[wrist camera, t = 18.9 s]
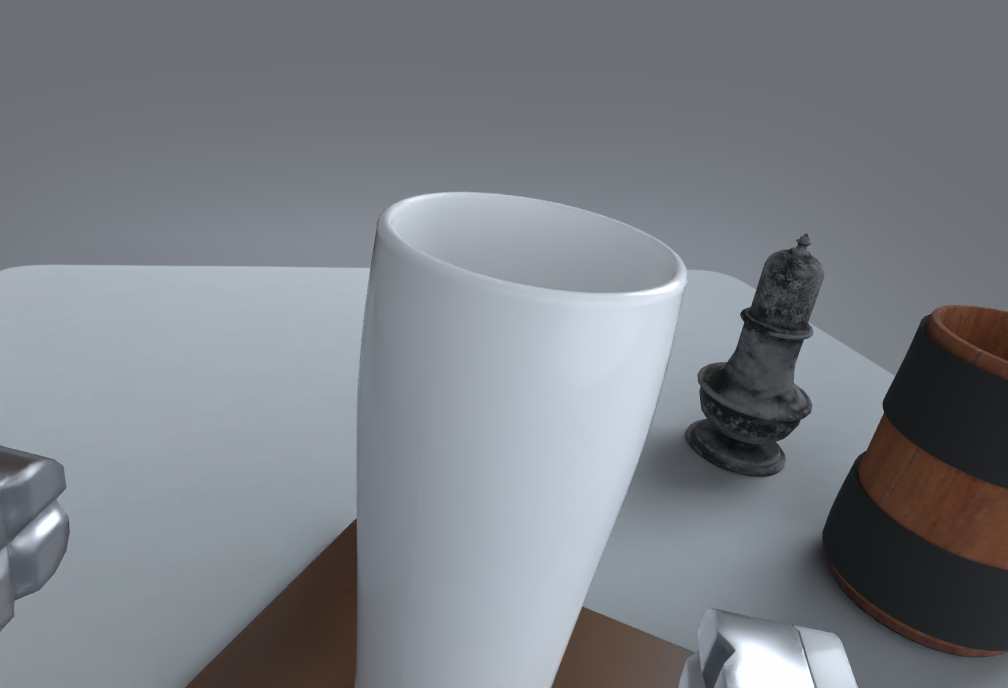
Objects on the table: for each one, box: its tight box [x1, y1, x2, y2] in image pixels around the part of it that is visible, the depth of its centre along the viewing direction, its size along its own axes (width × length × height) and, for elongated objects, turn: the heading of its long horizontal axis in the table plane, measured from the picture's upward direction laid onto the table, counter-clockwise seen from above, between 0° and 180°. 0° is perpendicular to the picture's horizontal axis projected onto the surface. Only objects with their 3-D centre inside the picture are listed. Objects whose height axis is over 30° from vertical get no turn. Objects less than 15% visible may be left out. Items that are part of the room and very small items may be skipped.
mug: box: [822, 305, 1008, 657], centre depth 32 cm, size 9×12×12 cm
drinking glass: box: [354, 192, 688, 688], centre depth 20 cm, size 7×7×15 cm
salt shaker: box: [686, 234, 824, 476], centre depth 40 cm, size 6×6×12 cm
